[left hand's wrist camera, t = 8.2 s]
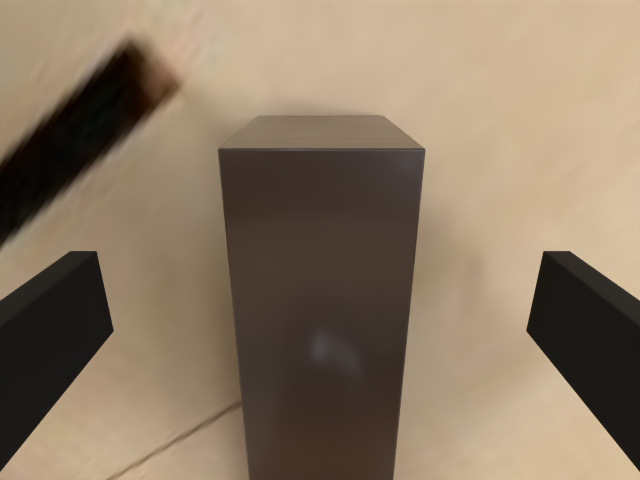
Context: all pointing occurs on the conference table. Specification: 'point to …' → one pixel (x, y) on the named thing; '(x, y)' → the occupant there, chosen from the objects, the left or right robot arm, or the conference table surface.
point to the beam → (321, 289)
